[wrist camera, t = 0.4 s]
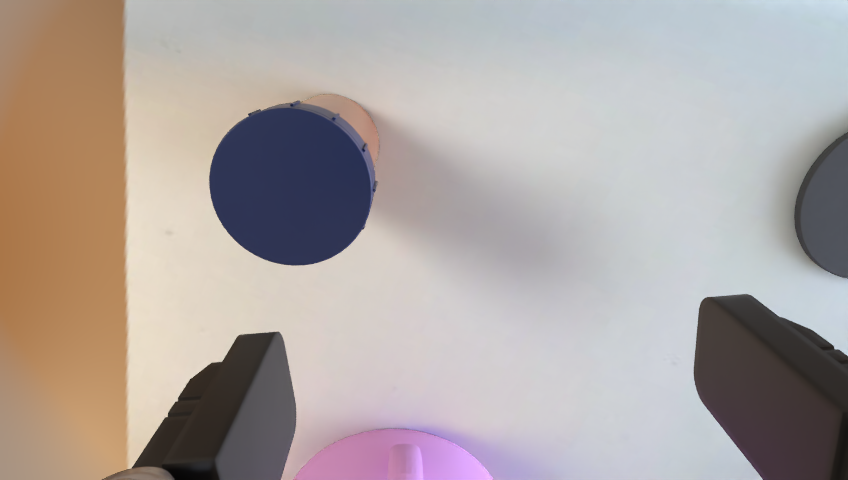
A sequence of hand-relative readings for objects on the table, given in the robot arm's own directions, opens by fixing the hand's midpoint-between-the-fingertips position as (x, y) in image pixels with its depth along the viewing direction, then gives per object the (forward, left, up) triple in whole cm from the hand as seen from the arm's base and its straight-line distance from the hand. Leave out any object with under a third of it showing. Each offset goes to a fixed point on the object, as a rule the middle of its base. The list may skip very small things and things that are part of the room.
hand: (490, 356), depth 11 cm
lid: (+1, -6, -10) cm, 12 cm away
